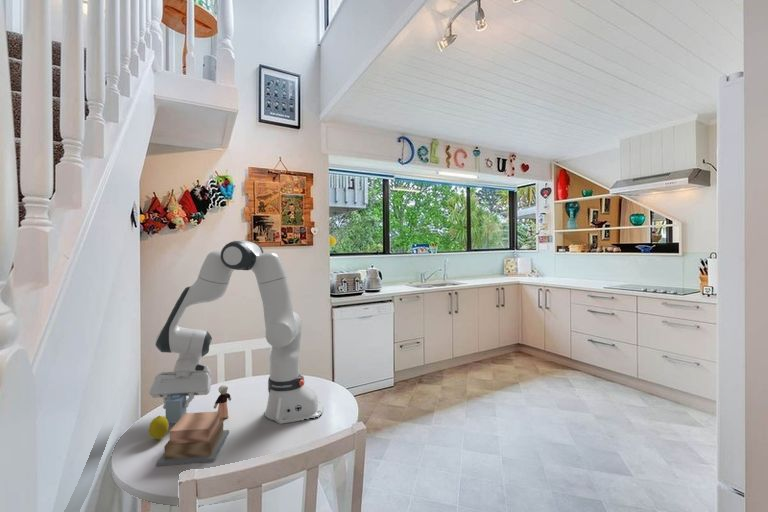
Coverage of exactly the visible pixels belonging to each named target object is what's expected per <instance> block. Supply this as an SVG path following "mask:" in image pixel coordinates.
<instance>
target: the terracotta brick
mask: <svg viewBox="0 0 768 512" xmlns="http://www.w3.org/2000/svg"><path fill="white" fill-rule="evenodd" d="M223 430H224V420H223V421H219V411H218V410H216V411H203V412H200V411H199V412H186V413H184V415H183V416H182V417H181V418H180V419H179V421H178V422H177V423H174V425H173V426H172V428H171V429H170V430H169V440H168V441H167V443H166V444H165V445H164V446H163V447H164V450H163V451H164V453H163V454H164V459H174V458H187V457H200V456H211V454H212V452H213V450H214V449H215V447H216V445H217V443H218V441H219V440H220V438H221V436H222V434H223Z"/></svg>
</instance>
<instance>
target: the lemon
mask: <svg viewBox="0 0 768 512" xmlns="http://www.w3.org/2000/svg"><path fill="white" fill-rule="evenodd" d="M169 425H170V423H168V420H167V419H166V416H163V415H158V416H156V417H155V418H153V419H152V420H151V422H150V423H149V426H148V433H149V436H150V437H151V438H152V439H155V440H158V441H159V440H160V439H162V438H163V437H164V436H165V435H167V433H168V431H169V428H170V426H169Z"/></svg>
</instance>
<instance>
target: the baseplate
mask: <svg viewBox="0 0 768 512" xmlns="http://www.w3.org/2000/svg"><path fill="white" fill-rule="evenodd" d="M229 434H230V430H229V429H223V434H222V436H221V438H220V440H219V441H218V443H217V445H216V447H215V449H214V450H213V452H212V454H211V456H200V457H187V458H174V459H164V453H162V455H161V457H160V458H159V459H158V460H157V462H156V467H163V466H164V467H165V466H174V465H175V466H177V465H185V464H184V463H190V464H200V463H214V462H215V461H216V459H217V457H218V455H219V454H220V451H221V449H222V447H223V446H224V443H225V441H226V440H227V438H228V436H229Z"/></svg>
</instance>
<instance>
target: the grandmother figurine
mask: <svg viewBox="0 0 768 512" xmlns="http://www.w3.org/2000/svg"><path fill="white" fill-rule="evenodd" d="M228 390H229V387H228V385H225V384H221V386H219V388H218V392H219V393H220V394H219V395H218V397H217V399H216V400H215V402H214V405H213V409H217V411H219V421H223V422H224V419H227V418H229V408H228V401H231V400H232V397H231V394H230V393H229V392H228Z"/></svg>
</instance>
